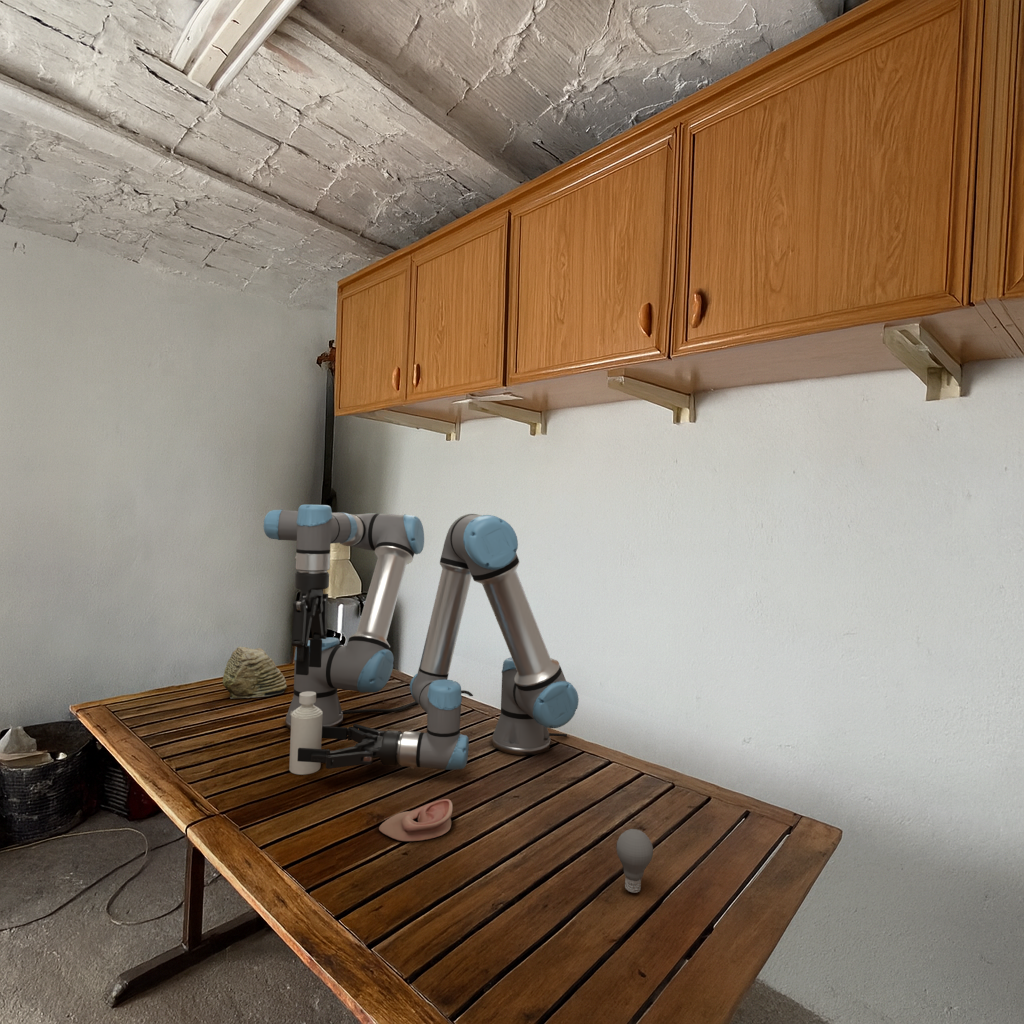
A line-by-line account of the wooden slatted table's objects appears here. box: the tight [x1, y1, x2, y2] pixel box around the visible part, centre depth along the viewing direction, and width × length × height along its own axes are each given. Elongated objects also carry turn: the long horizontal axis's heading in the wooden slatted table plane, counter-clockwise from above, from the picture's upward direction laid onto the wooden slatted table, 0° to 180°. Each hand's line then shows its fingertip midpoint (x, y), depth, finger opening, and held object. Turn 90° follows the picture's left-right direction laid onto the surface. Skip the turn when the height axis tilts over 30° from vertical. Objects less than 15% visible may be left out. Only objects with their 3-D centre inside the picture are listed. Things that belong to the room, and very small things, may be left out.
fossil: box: [222, 646, 288, 699], centre depth 198 cm, size 9×18×15 cm, turn 132°
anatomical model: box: [378, 798, 454, 842], centre depth 123 cm, size 13×4×12 cm
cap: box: [299, 691, 316, 704], centre depth 147 cm, size 4×4×2 cm
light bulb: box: [615, 828, 654, 894], centre depth 106 cm, size 6×6×10 cm
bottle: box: [288, 704, 323, 776], centre depth 147 cm, size 7×7×17 cm
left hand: (308, 670), depth 147 cm, fingers open, 6 cm apart
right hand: (309, 742), depth 146 cm, fingers open, 13 cm apart
